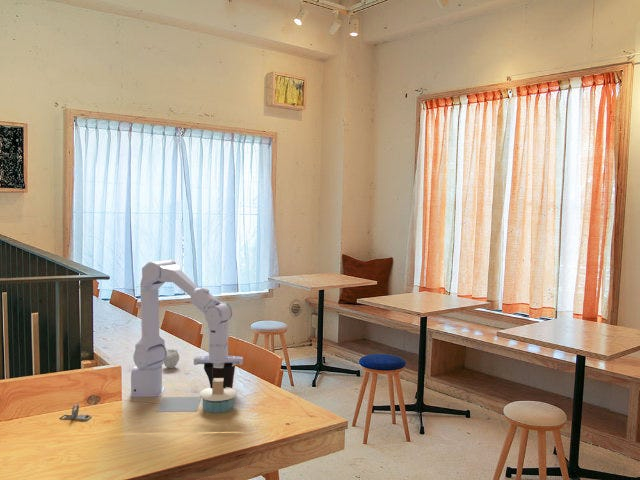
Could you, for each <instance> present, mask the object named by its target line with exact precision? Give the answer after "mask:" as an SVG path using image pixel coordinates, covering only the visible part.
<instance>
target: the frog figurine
mask: <svg viewBox="0 0 640 480" xmlns="http://www.w3.org/2000/svg"><path fill="white" fill-rule="evenodd" d="M166 350H167V357H166V359H165V360H164V361H163V365H164V366H165V367H166V368H167V369H174V368H175V367H176V366H177V365H178V363H179V361H180V353H179V352H178V349H175V348H168V349H166Z"/></svg>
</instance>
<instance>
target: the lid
mask: <svg viewBox="0 0 640 480" xmlns="http://www.w3.org/2000/svg"><path fill="white" fill-rule="evenodd" d="M223 380H224V378H213V381H212V388H210V387H206V388H204V389H202V390H201V391H200V392H199V397H201V400H203V399H204V400H208V401H224V400H229V399H231V398H233V399H234V398H235V397H236V396H237V390H236V389H234V388H233V387H232V388H229V387H226V388H223Z"/></svg>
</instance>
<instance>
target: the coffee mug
mask: <svg viewBox="0 0 640 480" xmlns="http://www.w3.org/2000/svg"><path fill="white" fill-rule="evenodd" d="M223 367H224V364H213V378H224V369H223ZM235 370H236V364H233V365H232V369H231V371H230V373H229V375H228V378H227V381H226V387H229V388H233V386H234V380H235V379H234V377H235Z"/></svg>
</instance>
